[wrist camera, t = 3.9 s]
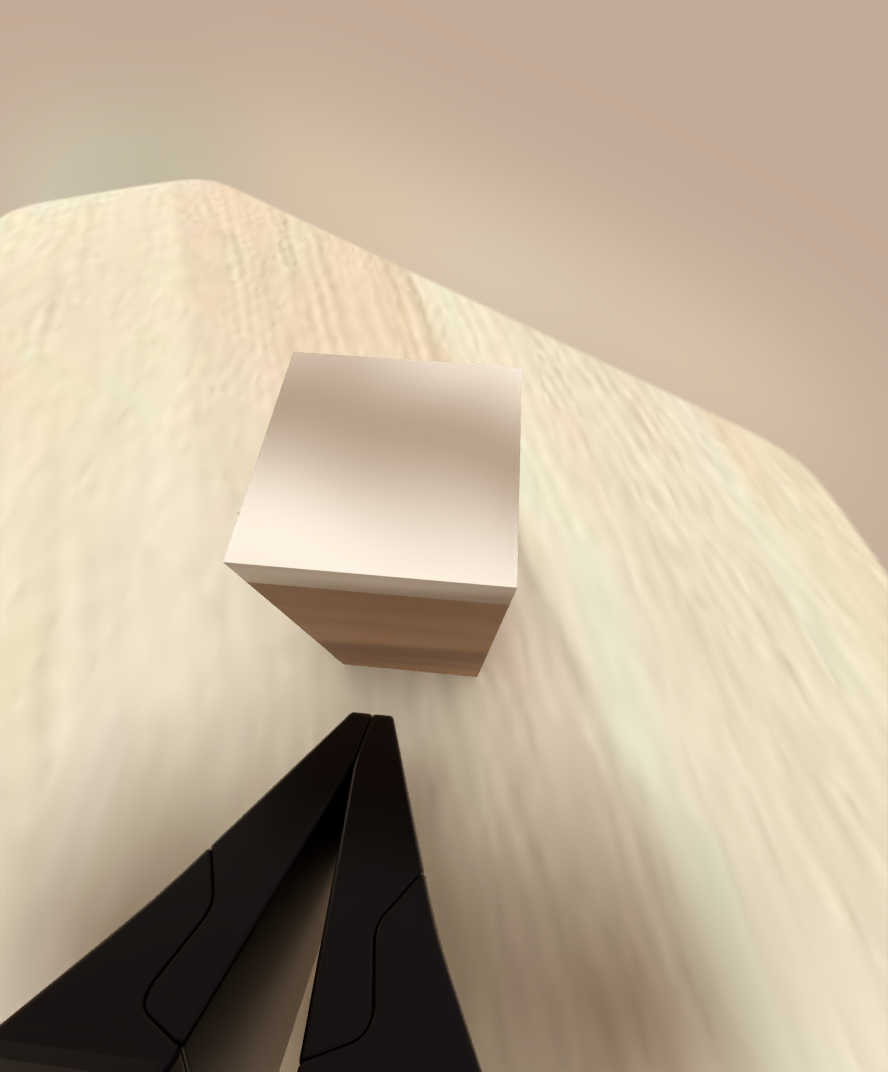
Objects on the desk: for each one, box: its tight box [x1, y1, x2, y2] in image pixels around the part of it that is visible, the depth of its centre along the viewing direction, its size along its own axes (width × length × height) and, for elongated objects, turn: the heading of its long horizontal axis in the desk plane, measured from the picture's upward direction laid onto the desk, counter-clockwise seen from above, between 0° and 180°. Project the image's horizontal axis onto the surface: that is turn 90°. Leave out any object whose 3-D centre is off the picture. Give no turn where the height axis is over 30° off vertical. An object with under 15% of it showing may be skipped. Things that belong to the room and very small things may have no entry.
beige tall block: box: [223, 352, 522, 677], centre depth 13 cm, size 5×5×10 cm
